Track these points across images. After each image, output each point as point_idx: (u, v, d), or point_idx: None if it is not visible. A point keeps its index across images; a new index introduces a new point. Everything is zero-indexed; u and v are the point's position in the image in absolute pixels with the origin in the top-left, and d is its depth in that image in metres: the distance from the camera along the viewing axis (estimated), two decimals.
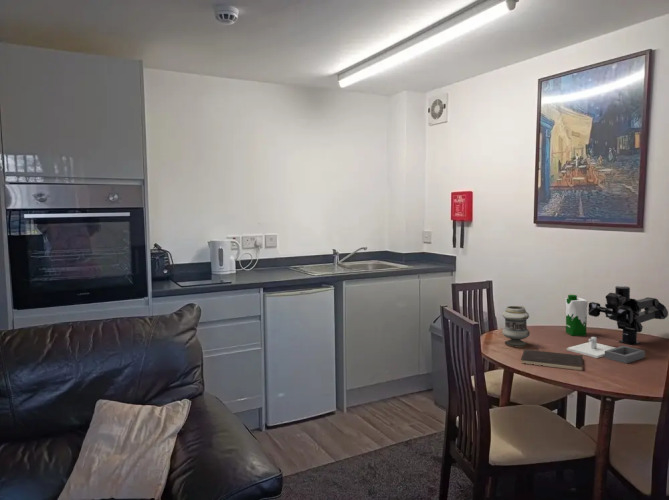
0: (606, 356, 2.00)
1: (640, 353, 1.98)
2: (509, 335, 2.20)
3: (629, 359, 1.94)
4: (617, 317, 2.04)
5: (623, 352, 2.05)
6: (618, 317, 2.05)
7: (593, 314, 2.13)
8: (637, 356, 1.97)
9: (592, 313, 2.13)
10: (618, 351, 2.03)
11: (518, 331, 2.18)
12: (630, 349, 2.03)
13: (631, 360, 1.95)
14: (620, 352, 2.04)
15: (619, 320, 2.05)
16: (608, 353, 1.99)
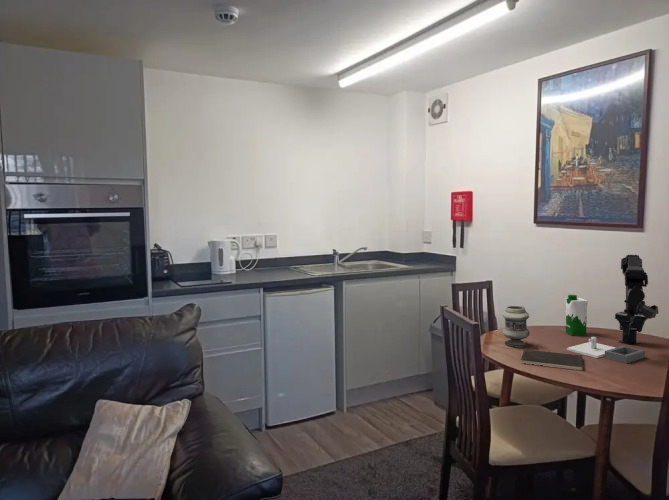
0: (606, 356, 2.00)
1: (640, 353, 1.98)
2: (509, 335, 2.20)
3: (629, 359, 1.94)
4: None
5: (623, 352, 2.05)
6: None
7: None
8: (637, 356, 1.97)
9: None
10: (618, 351, 2.03)
11: (518, 331, 2.18)
12: (630, 349, 2.03)
13: (631, 360, 1.95)
14: (620, 352, 2.04)
15: None
16: (608, 353, 1.99)
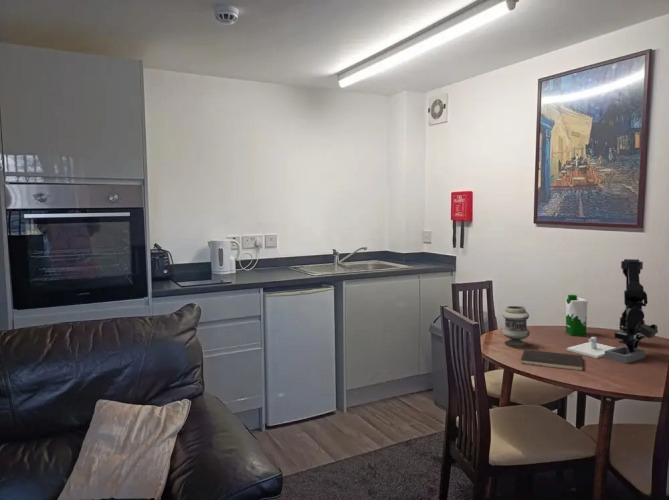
0: (606, 356, 2.00)
1: (640, 353, 1.98)
2: (509, 335, 2.20)
3: (629, 359, 1.94)
4: None
5: (623, 352, 2.05)
6: None
7: None
8: (637, 356, 1.97)
9: None
10: (618, 351, 2.03)
11: (518, 331, 2.18)
12: None
13: (631, 360, 1.95)
14: (620, 352, 2.04)
15: None
16: (608, 353, 1.99)
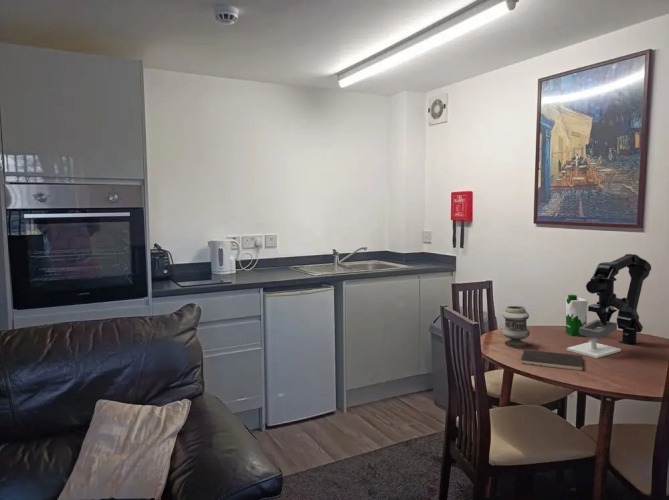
0: (580, 333, 2.09)
1: (612, 326, 2.07)
2: (509, 335, 2.20)
3: (602, 334, 2.03)
4: None
5: (596, 326, 2.14)
6: None
7: None
8: (609, 330, 2.06)
9: None
10: (592, 326, 2.12)
11: (518, 331, 2.18)
12: None
13: (604, 334, 2.04)
14: (593, 326, 2.12)
15: None
16: (582, 330, 2.08)
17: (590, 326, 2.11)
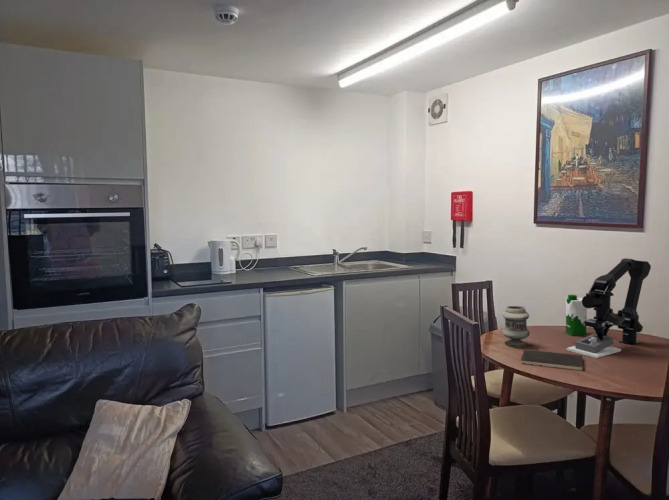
0: (577, 347, 2.11)
1: (608, 341, 2.08)
2: (509, 335, 2.20)
3: (598, 348, 2.05)
4: None
5: None
6: None
7: None
8: (605, 345, 2.08)
9: None
10: None
11: (518, 331, 2.18)
12: None
13: (599, 349, 2.06)
14: None
15: None
16: (578, 344, 2.10)
17: (587, 340, 2.13)
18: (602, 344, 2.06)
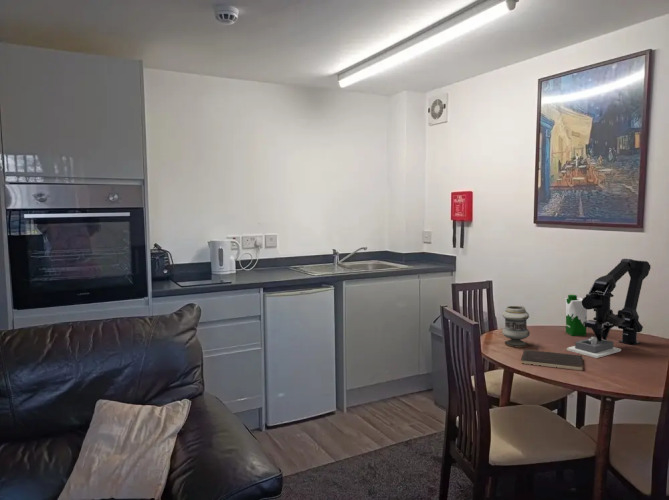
0: (576, 347, 2.11)
1: (608, 344, 2.09)
2: (509, 335, 2.20)
3: (598, 349, 2.05)
4: None
5: None
6: None
7: None
8: (605, 347, 2.08)
9: None
10: (589, 342, 2.14)
11: (518, 331, 2.18)
12: None
13: (599, 350, 2.06)
14: (590, 343, 2.14)
15: None
16: (578, 344, 2.10)
17: (587, 342, 2.13)
18: (602, 346, 2.06)
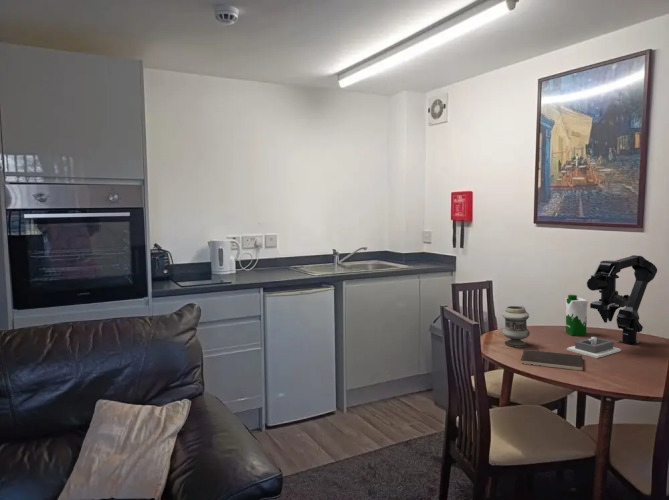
0: (576, 347, 2.11)
1: (608, 344, 2.09)
2: (509, 335, 2.20)
3: (598, 349, 2.05)
4: None
5: None
6: None
7: None
8: (605, 347, 2.08)
9: None
10: (589, 342, 2.14)
11: (518, 331, 2.18)
12: (600, 340, 2.14)
13: (599, 350, 2.06)
14: (590, 343, 2.14)
15: None
16: (578, 344, 2.10)
17: (587, 342, 2.13)
18: (602, 346, 2.06)
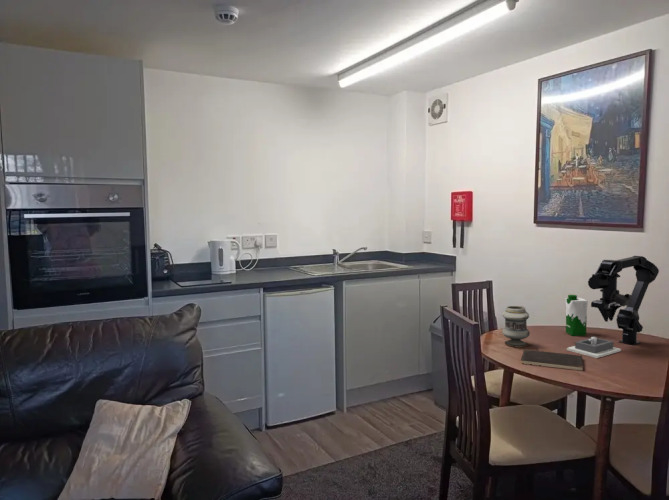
0: (576, 347, 2.11)
1: (608, 344, 2.09)
2: (509, 335, 2.20)
3: (598, 349, 2.05)
4: None
5: None
6: None
7: None
8: (605, 347, 2.08)
9: None
10: (589, 342, 2.14)
11: (518, 331, 2.18)
12: (600, 340, 2.14)
13: (599, 350, 2.06)
14: (590, 343, 2.14)
15: None
16: (578, 344, 2.10)
17: (587, 342, 2.13)
18: (602, 346, 2.06)
